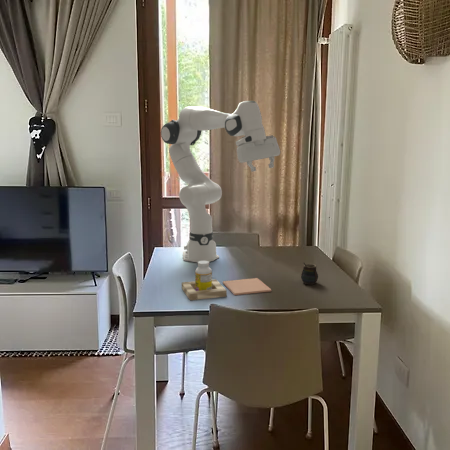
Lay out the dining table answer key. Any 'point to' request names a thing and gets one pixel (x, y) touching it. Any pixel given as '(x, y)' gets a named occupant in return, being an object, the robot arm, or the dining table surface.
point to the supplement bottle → (203, 276)
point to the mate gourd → (309, 274)
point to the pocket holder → (204, 291)
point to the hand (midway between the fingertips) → (262, 169)
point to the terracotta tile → (246, 286)
